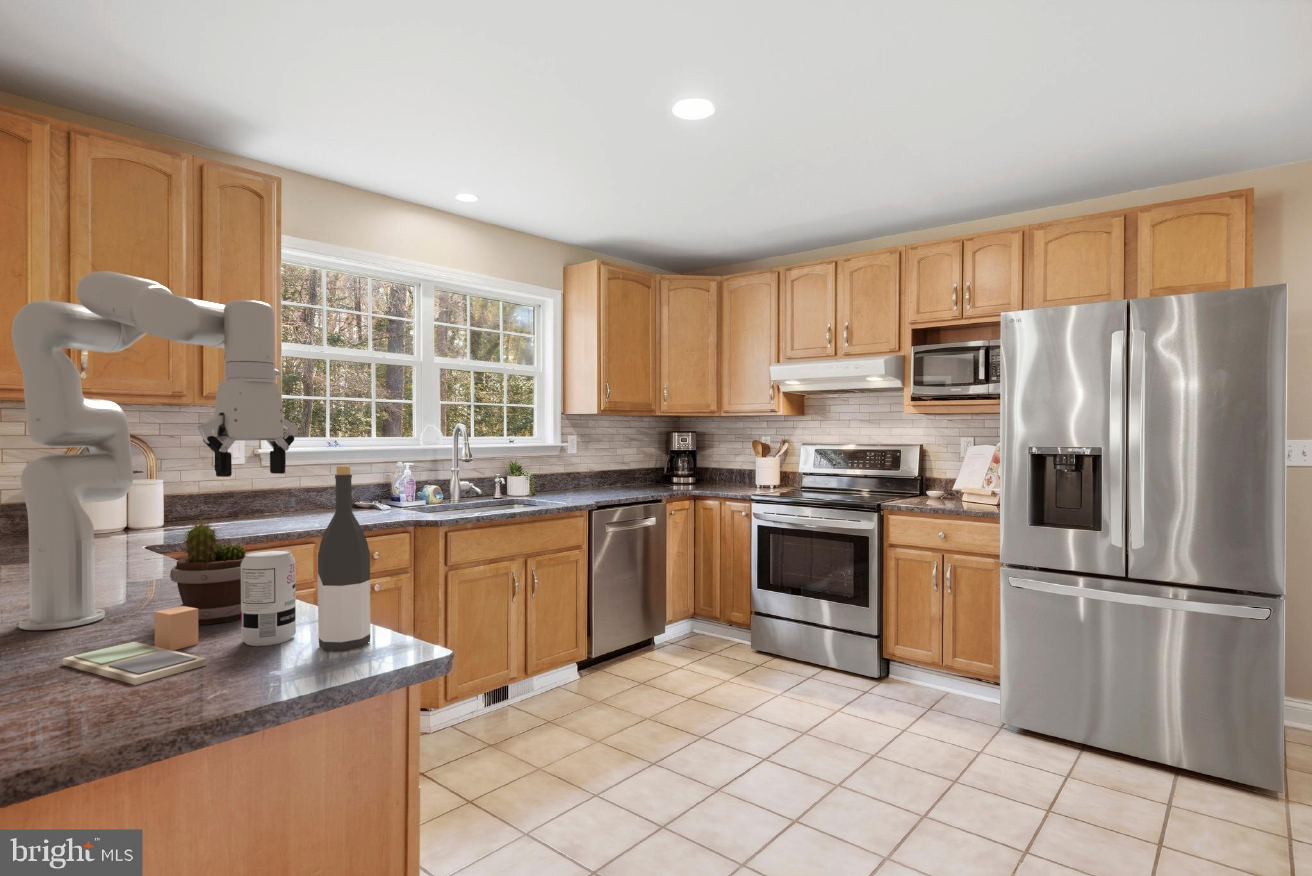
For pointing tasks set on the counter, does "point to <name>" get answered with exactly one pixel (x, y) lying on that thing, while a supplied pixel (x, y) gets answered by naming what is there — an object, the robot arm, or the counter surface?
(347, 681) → the counter surface
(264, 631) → the supplement can
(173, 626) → the block
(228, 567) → the flowerpot
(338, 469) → the wine bottle
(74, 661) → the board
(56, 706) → the counter surface
